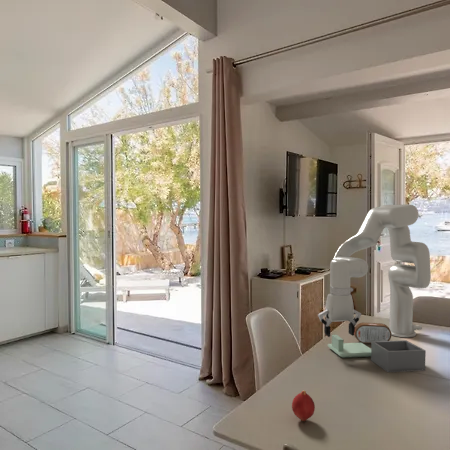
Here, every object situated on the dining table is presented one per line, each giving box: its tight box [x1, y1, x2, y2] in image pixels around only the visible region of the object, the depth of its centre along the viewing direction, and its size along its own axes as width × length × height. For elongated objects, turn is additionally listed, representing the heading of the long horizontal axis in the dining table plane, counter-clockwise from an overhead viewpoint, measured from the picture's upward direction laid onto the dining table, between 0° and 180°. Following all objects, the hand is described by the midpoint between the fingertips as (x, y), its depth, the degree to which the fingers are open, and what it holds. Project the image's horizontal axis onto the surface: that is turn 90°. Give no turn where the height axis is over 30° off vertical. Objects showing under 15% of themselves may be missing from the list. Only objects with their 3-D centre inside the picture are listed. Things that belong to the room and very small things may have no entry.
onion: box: [291, 390, 316, 422], centre depth 101 cm, size 6×6×8 cm
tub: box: [370, 339, 427, 373], centre depth 140 cm, size 14×11×7 cm
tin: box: [353, 322, 392, 345], centre depth 164 cm, size 15×3×8 cm, turn 84°
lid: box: [327, 334, 371, 359], centre depth 152 cm, size 14×11×7 cm
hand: (339, 335), depth 151 cm, fingers open, 9 cm apart
